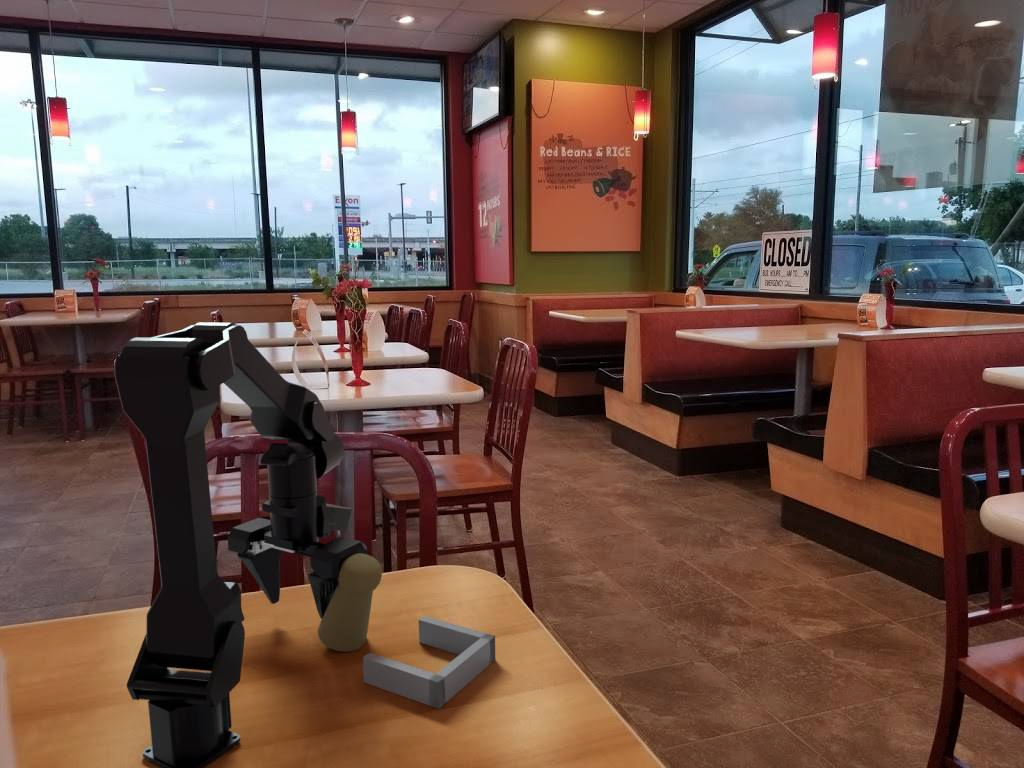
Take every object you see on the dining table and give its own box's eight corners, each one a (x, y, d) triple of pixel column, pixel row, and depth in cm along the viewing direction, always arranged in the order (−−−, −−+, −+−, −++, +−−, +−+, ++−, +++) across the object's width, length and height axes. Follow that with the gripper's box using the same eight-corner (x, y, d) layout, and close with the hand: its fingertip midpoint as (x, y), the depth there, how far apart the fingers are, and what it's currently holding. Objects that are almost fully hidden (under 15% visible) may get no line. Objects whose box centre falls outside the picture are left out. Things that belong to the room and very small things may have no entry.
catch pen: (438, 708, 81) (438, 682, 80) (363, 682, 86) (362, 657, 85) (495, 659, 91) (495, 635, 90) (425, 638, 96) (424, 615, 95)
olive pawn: (372, 626, 98) (394, 556, 94) (358, 658, 92) (380, 584, 88) (327, 610, 98) (347, 539, 94) (310, 641, 92) (330, 567, 88)
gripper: (393, 485, 98) (397, 601, 100) (286, 466, 107) (292, 572, 109) (332, 511, 88) (338, 638, 91) (220, 487, 97) (229, 603, 100)
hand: (299, 610), depth 98 cm, fingers open, 8 cm apart
